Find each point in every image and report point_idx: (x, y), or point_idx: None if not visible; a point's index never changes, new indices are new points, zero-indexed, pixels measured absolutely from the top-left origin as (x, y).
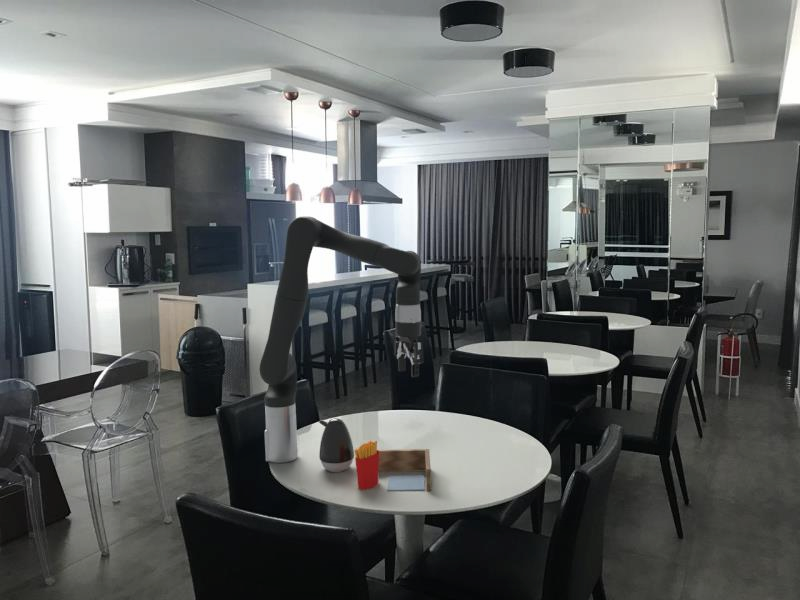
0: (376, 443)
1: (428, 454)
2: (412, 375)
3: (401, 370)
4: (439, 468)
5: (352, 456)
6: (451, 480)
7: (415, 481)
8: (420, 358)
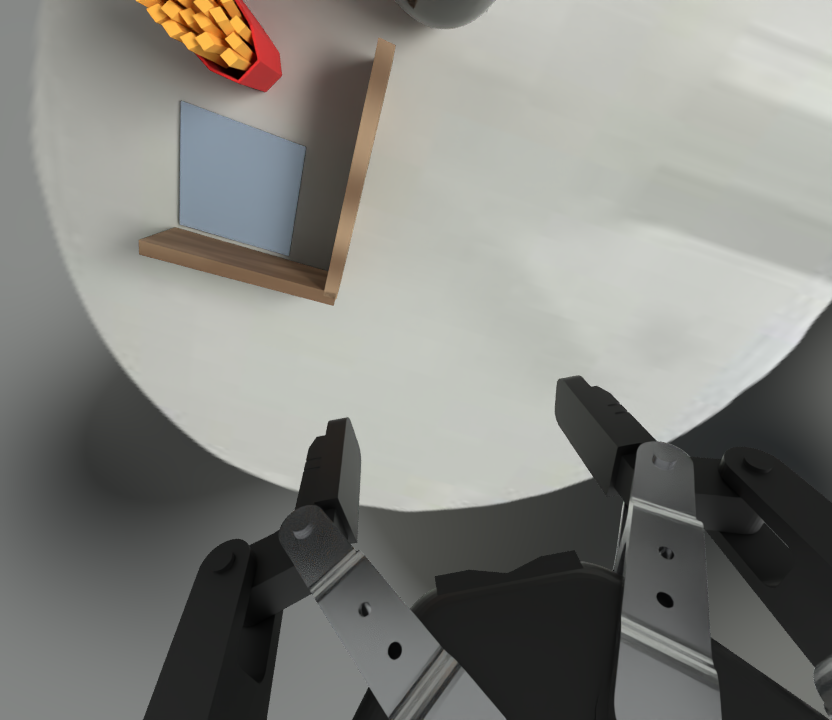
0: (187, 47)
1: (283, 289)
2: (327, 426)
3: (558, 393)
4: (337, 310)
5: (399, 2)
6: (247, 312)
7: (243, 217)
8: (266, 625)
